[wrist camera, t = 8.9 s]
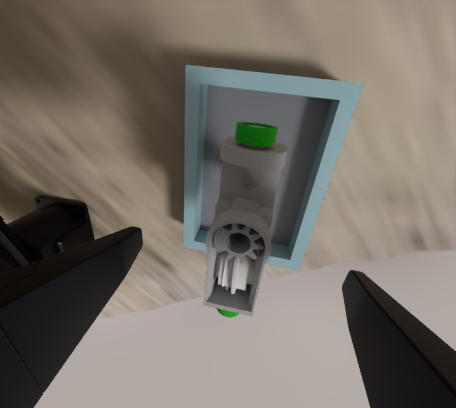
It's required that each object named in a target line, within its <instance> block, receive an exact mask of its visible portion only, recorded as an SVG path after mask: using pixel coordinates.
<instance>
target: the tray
mask: <svg viewBox="0 0 456 408" xmlns="http://www.w3.org/2000/svg"><path fill="white" fill-rule="evenodd" d="M363 84H364V83H357V82H347V81H338V80H328V79H318V78H309V77H299V76H290V75H280V74H270V73H261V72H251V71H241V70H232V69H222V68H213V67H203V66H193V65H185V160H184V248H189V249H194V250H199V251H204V252H207V249H206V245H205V241H206V236H207V233H208V231H209V229H210V226H211V224H212V222H213V220H214V217H215V206H216V204H217V202H218V200H219V192H220V181H221V170H222V159H221V157H220V155H221V144H222V141H223V140H224V139H225V138H226V137H227V136H235V134H236V126H237V122H253V123H261V124H268V125H272V126H276V127H278V131H277V136H276V141H275V142H279V143H285V144H286V147H287V155H286V159H285V164H284V167H282V170H281V175H280V179H279V183H278V188H277V192H276V197H275V201H274V205H273V219H272V223H271V254H270V257H269V259H268V261H267V262H266V263H265V264H268V265H273V266H278V267H283V268H288V269H293V270H298V271H299V268H300V266H301V263H302V260H303V257H304V254H305V251H306V248H307V245H308V242H309V240H310V237H311V234H312V231H313V228H314V225H315V222H316V219H317V216H318V214H319V211H320V208H321V205H322V202H323V199H324V196H325V193H326V190H327V188H328V185H329V182H330V179H331V176H332V173H333V170H334V167H335V164H336V162H337V159H338V156H339V153H340V150H341V147H342V144H343V141H344V138H345V136H346V133H347V130H348V127H349V124H350V121H351V118H352V115H353V112H354V110H355V107H356V104H357V101H358V98H359V95H360V92H361V89H362V86H363Z"/></svg>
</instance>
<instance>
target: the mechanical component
mask: <svg viewBox="0 0 456 408" xmlns="http://www.w3.org/2000/svg"><path fill="white" fill-rule="evenodd" d="M277 131H278V127H276V126H272V125H268V124H261V123H253V122H237V126H236V134H235V136H227V137H226V138H225V139H224V140H223V141H222V144H221V155H220V157H221V159H222V170H221V181H220V192H219V200H218V202H217V204H216V206H215V217H214V220H213V222H212V224H211V226H210V229H209V231H208V233H207V236H206V241H205V245H206V249H207V252H208V256H207V269H206V282H205V296H204V305H205V306H210V307H214V308H217V310H218V312H219V313H220V314H222V315H223V316H226V317H234V316H237V315H238V314H239V313H240V314H245V315H249V316H252V315H253V310H254V306H255V302H256V298H257V294H258V289H259V285H260V281H261V277H262V273H263V269H264V264H265V263H266V262H267V261H268V259H269V257H270V254H271V223H272V219H273V205H274V201H275V197H276V192H277V188H278V183H279V179H280V175H281V170H282V167H284V164H285V159H286V155H287V147H286V144H285V143H279V142H275V141H276V136H277Z"/></svg>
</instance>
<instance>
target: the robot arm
mask: <svg viewBox="0 0 456 408" xmlns="http://www.w3.org/2000/svg"><path fill="white" fill-rule="evenodd" d="M34 200H35V203H36V206H37V209H38V210H36V211H34V212H32V213H30V214H28V215H26V216H24V217H21V218H19V219H17V220H15V221H13V222H11V223H9V224H7V225H6V223H5V222H4V221H3V220H4V219H3V218H2V217H1V216H0V408H34V406H35V405H36V403H37V402H38V401H39V399H40V398H41V396H42V395H43V392H45V390H46V389H47V388H48V386H49V385H50V383H51V382H52V380H53V379H54V377H55V376H56V375H57V373H58V372H59V370H60V369H61V368H62V366H63V365H64V363H65V362H66V361H67V359H68V358H69V356H70V355H71V353H72V352H73V351H74V349H75V347H76V346H77V345H78V343H79V342H80V341H81V339H82V338H83V336H84V335H85V334H86V332H87V331H88V329H89V328H90V326H91V325H92V324H93V322H94V321H95V319H96V318H97V317H98V315H99V314H100V312H101V311H102V309H103V308H104V307H105V305H106V304H107V302H108V301H109V299H110V298H111V297H112V295H113V294H114V292H115V291H116V290H117V288H118V287H119V285H120V284H121V282H122V281H123V279H124V278H125V276H126V275H127V273H128V271H129V270H130V268H131V266H132V264H133V262H134V261H135V259H136V257H137V255H138V254H139V252H140V250H141V248H142V245H143V239H142V230H141V228H138V227H133V226H131V227H128V228H126V229H123V230H120V231H118V232H115V233H112V234H109V235H107V236H104V237H101V238H99V239H96V240H95V239H94V235H93V230H92V226H91V222H90V217H89V213H88V209H87V206H86V205H84V204H81V203H76V202H70V201H65V200H60V199H54V198H49V197H44V196H37V197H35V198H34ZM342 292H343V297H344V304H345V310H346V316H347V322H348V328H349V332H350V335H351V339H352V343H353V346H354V350H355V354H356V357H357V361H358V364H359V368H360V372H361V375H362V379H363V382H364V386H365V390H366V394H367V397H368V401H369V405H370V408H456V351H455V350H454V349H452V348H451V347H450V346H449V345H448V344H446V343H445V342H444V341H443V340H442V339H441V338H439V337H438V336H437V335H436V334H435V333H433V332H432V331H431V330H430V329H429V328H427V327H426V326H425V325H424V324H423V323H422V322H421V321H419V320H418V319H417V318H416V317H415V316H413V315H412V314H411V313H410V312H409V311H407V310H406V309H405V308H404V307H403V306H402V305H400V304H399V303H398V302H397V301H396V300H394V299H393V298H392V297H391V296H390V295H389V294H387V293H386V292H385V291H384V290H383V289H381V288H380V287H379V286H378V285H377V284H376V283H374V282H373V281H372V280H371V279H370V278H369V277H367V276H366V275H365V274H364V273H362V272H360V271H355V270H351V271H349V273H348V275H347V277H346V279H345V281H344V283H343V285H342Z"/></svg>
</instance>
